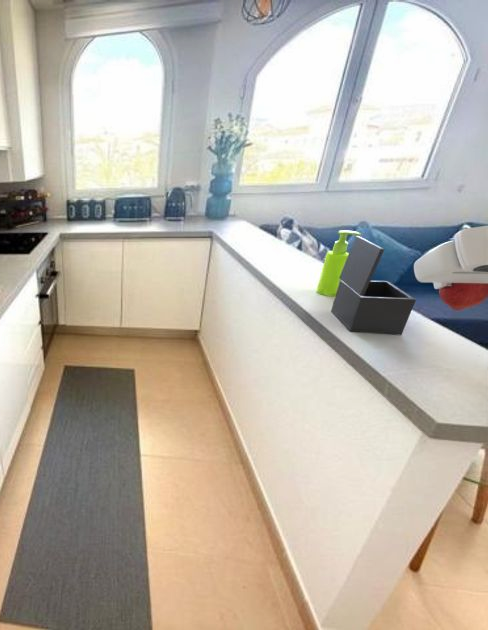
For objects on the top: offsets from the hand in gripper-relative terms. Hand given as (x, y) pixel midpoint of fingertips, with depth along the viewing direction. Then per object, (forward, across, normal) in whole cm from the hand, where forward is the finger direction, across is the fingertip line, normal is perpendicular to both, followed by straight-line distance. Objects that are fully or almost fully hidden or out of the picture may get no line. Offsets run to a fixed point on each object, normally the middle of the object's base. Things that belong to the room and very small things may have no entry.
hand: (462, 285), depth 62 cm
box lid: (+22, +4, -15) cm, 27 cm away
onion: (+3, 0, +4) cm, 5 cm away
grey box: (+33, -1, -4) cm, 34 cm away
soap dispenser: (+48, 0, -19) cm, 52 cm away
